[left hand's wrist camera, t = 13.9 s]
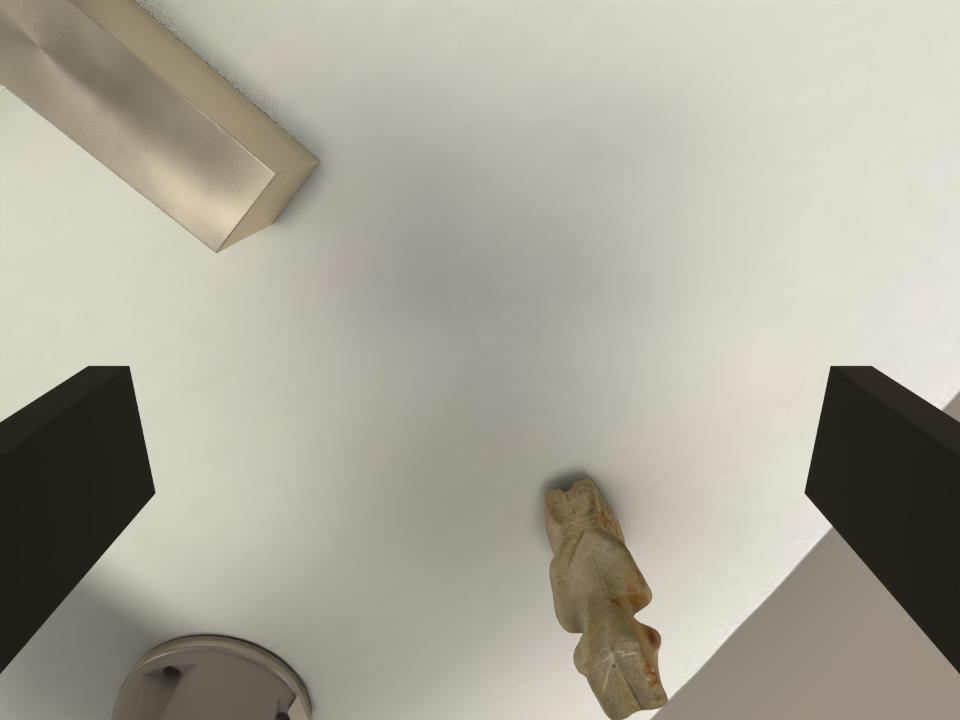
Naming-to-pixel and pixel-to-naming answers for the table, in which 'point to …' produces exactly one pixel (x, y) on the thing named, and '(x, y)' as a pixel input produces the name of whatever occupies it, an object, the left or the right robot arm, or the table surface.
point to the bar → (152, 113)
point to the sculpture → (602, 602)
